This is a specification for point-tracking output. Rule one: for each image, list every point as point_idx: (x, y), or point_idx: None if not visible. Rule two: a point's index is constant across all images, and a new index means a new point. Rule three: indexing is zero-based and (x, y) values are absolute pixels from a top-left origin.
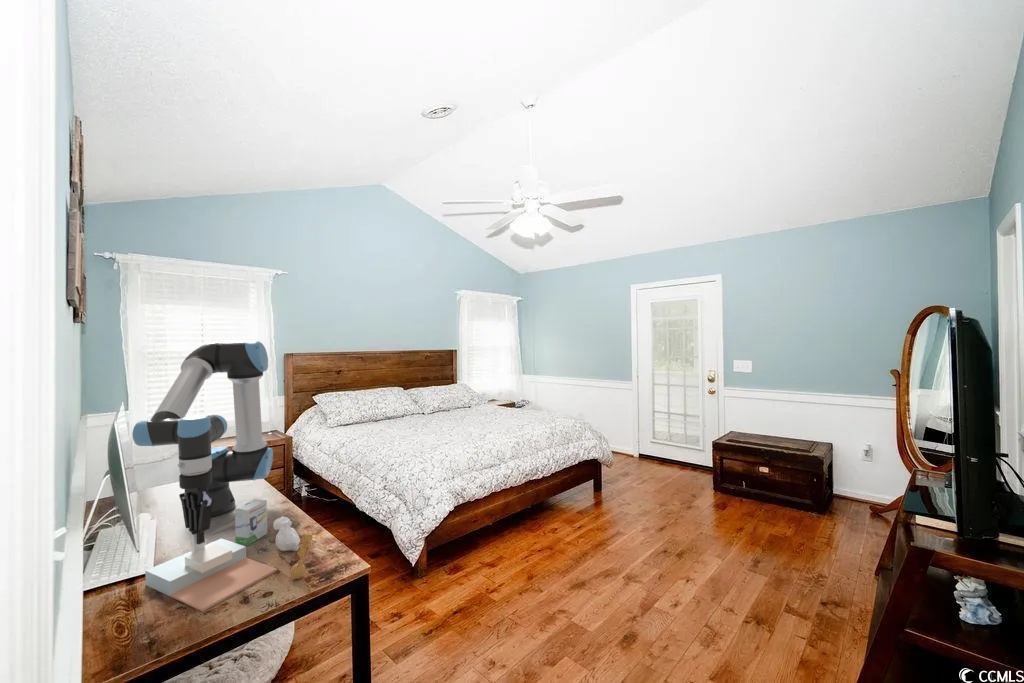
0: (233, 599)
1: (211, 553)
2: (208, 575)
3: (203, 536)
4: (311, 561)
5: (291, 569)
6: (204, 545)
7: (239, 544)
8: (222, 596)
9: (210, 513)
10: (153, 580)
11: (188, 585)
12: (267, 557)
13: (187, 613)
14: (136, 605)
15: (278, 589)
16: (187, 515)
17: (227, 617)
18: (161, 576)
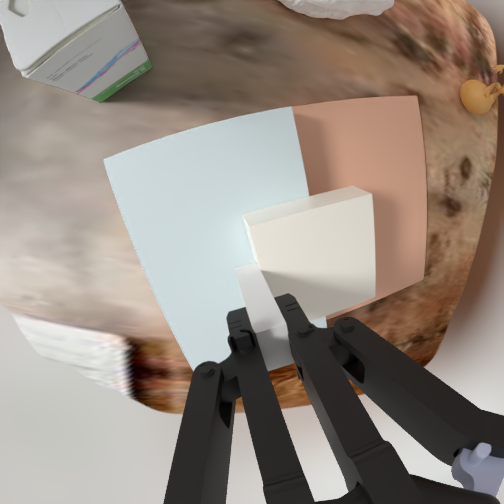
0: (434, 222)
1: (333, 259)
2: None
3: (303, 314)
4: (426, 27)
5: (483, 111)
6: (262, 277)
7: (244, 115)
8: (420, 239)
9: (433, 380)
10: None
11: None
12: (317, 59)
13: (402, 298)
14: (286, 367)
15: (467, 146)
16: (228, 452)
17: (461, 248)
18: None
